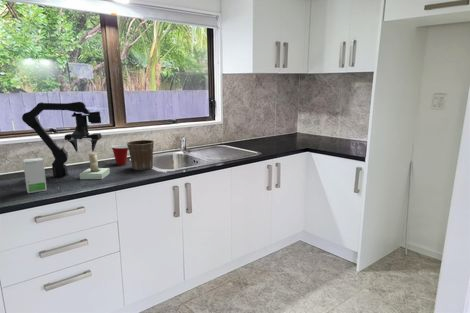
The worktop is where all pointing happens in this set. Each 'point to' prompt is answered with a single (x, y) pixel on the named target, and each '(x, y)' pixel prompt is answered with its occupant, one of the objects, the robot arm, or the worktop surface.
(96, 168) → the ash peg
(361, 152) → the worktop surface
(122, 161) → the plastic cup
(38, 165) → the skincare box
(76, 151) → the robot arm
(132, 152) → the plant pot
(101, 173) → the socket board
